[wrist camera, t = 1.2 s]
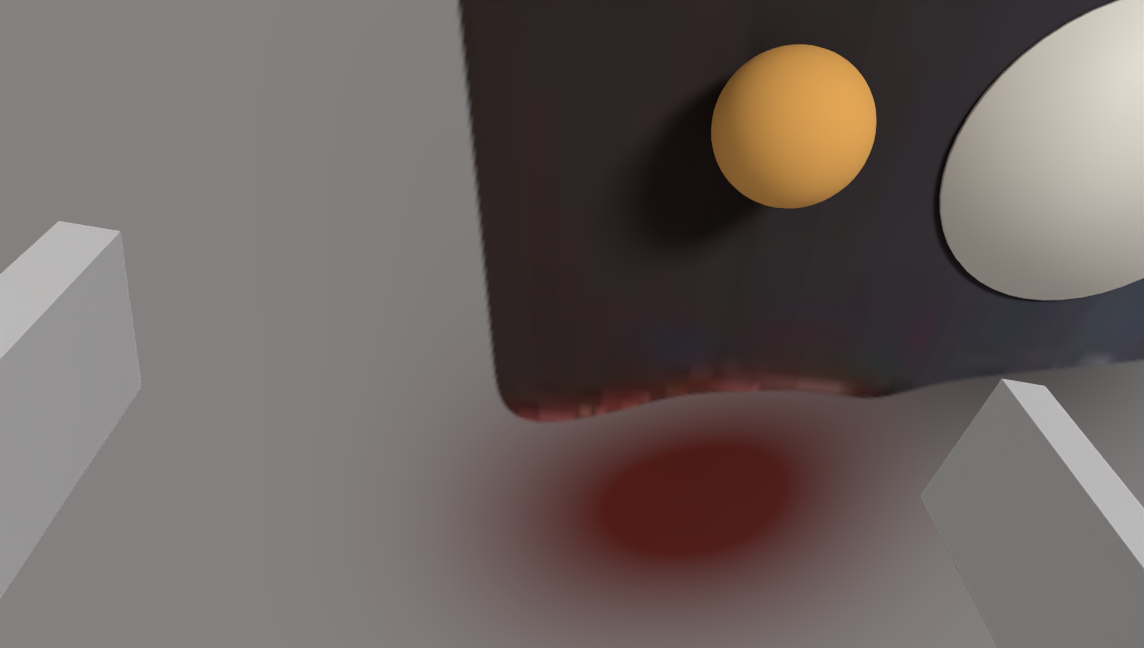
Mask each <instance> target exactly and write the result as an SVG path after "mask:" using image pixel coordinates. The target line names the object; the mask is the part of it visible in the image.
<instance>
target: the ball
mask: <svg viewBox="0 0 1144 648" xmlns="http://www.w3.org/2000/svg"><path fill="white" fill-rule="evenodd" d="M875 132H876V109H875V104H874V100H873V97H872V94H871V91H870V89H869V87H868V85H867V83H866V81H865V79H864V78H863V77H862V75H861V74H860V73H859V72H858V70H857V69H856V68H855V67H854V66H853V65H852V64H851V63H850V62H848V61H847V60H846V59H844V58H843V57H841V56H840V55H838V54H837V53H834V52H832V51H830V50H828V49H824V48H821V47H817V46H812V45H804V44H800V45H787V46H781V47H778V48H774V49H770V50H768V51H766V52H763V53H761V54H759V55H757V56H756V57H754V58H752V59H751V60H749V61H748V62H747V63H745V64H744V65H743V66H742V67H741V68H739V69H738V70H737V71H736V72H735V73H734V75H733V76H732V77H731V78H730V79H729V81H728V82H727V84H726V85H725V87H724V88H723V90H722V92H721V94H720V96H719V98H718V100H717V103H716V105H715V108H714V113H713V117H712V126H711V141H712V146H713V151H714V155H715V158H716V161H717V163H718V165H719V167H720V169H721V171H722V173H723V174H724V176H725V177H726V178H727V180H728V181H729V182H730V183H731V184H732V185H733V186H734V187H735V188H736V189H737V190H738V191H739V192H741V193H742V194H743V195H745V196H746V197H748V198H750V199H752V200H754V201H756V202H758V203H761V204H764V205H767V206H771V207H777V208H799V207H806V206H810V205H813V204H816V203H819V202H822V201H824V200H826V199H828V198H830V197H831V196H833V195H835V194H836V193H838V192H839V191H840V190H842V189H843V188H844V187H846V186H847V185H848V184H849V183H850V182H851V181H852V180H853V179H854V178H855V176H856V175H857V174H858V173H859V171H860V170H861V168H862V167H863V165H864V164H865V162H866V160H867V158H868V156H869V153H870V151H871V148H872V145H873V142H874V138H875Z"/></svg>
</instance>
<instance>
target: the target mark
mask: <svg viewBox="0 0 1144 648" xmlns="http://www.w3.org/2000/svg"><path fill="white" fill-rule="evenodd" d="M939 213H940V219H941V225H942V230H943V233H944V235H945V238H946V241H947V244H948V246H949V247H950V249H951V251H952V253H953V254H954V256H955V258H956V259H957V260H958V261H959V262H960V264H961V265H962V266H963V267H964V268H965V270H966V271H967V272H968V273H970V274H971V275H972V276H973V277H975V278H976V279H977V280H978V281H980V282H981V283H983V284H985V285H987V286H988V287H990V288H992V289H994V290H997V291H1000V292H1002V293H1005V294H1007V295H1011V296H1016V297H1020V298H1025V299H1035V300H1065V299H1073V298H1081V297H1086V296H1091V295H1095V294H1100V293H1103V292H1107V291H1110V290H1113V289H1116V288H1119V287H1122V286H1125V285H1127V284H1130V283H1132V282H1135V281H1137V280H1140V279H1142V278H1144V0H1115V1H1113V2H1110V3H1108V4H1105V5H1103V6H1100V7H1097V8H1095V9H1092V10H1090V11H1088V12H1086V13H1084V14H1082V15H1080V16H1078V17H1077V18H1075V19H1073V20H1071V21H1069V22H1067V23H1065V24H1064V25H1062V26H1060V27H1059V28H1057V29H1056V30H1054V31H1053V32H1051V33H1050V34H1048V35H1046V36H1045V37H1043V38H1042V39H1041V40H1039V41H1038V42H1037V43H1035V44H1034V45H1033V46H1032V47H1030V48H1029V49H1028V50H1026V51H1025V52H1024V53H1023V54H1021V55H1020V56H1019V57H1018V58H1017V59H1016V60H1015V61H1014V62H1013V63H1012V64H1011V65H1010V66H1008V67H1007V68H1006V69H1005V70H1004V71H1003V72H1002V73H1001V74H1000V75H999V76H998V77H997V79H996V80H995V81H994V82H993V83H992V84H991V85H990V87H989V88H988V89H987V90H986V91H985V92H984V93H983V95H982V96H981V98H980V99H979V100H978V102H977V103H976V104H975V106H974V107H973V109H972V110H971V111H970V113H969V114H968V116H967V118H966V120H965V121H964V123H963V125H962V127H961V128H960V130H959V132H958V134H957V136H956V138H955V140H954V143H953V145H952V147H951V150H950V152H949V154H948V157H947V161H946V164H945V167H944V171H943V174H942V180H941V187H940V194H939Z"/></svg>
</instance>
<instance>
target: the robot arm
mask: <svg viewBox="0 0 1144 648" xmlns="http://www.w3.org/2000/svg"><path fill="white" fill-rule="evenodd" d="M141 387H142V385H141V377H140V370H139V363H138V356H137V348H136V341H135V334H134V327H133V319H132V312H131V305H130V297H129V290H128V283H127V275H126V268H125V261H124V253H123V247H122V239H121V232H120V231H115V230H109V229H104V228H98V227H92V226H85V225H79V224H74V223H68V222H62V221H59V222H57V223H56V224H55V225H54V226H53V227H52V228H51V229H50V230H49V231H48V232H46V233H45V234H44V235H43V236H42V237H41V238H40V239H39V240H38V241H36V242H35V243H34V244H33V245H32V246H31V247H30V248H29V249H28V250H27V251H25V252H24V253H23V254H22V255H21V256H20V257H19V258H18V259H17V260H16V261H15V262H13V263H12V264H11V266H9V267H8V268H7V269H6V270H5V271H3V273H2V274H0V598H1V597H2V595H3V593H4V592H5V591H6V589H7V588H8V586H9V585H10V583H11V581H12V580H13V579H14V577H15V576H16V574H17V573H18V571H19V570H20V568H21V566H22V565H23V564H24V562H25V561H26V559H27V558H28V556H29V555H30V553H31V552H32V550H33V549H34V547H35V546H36V544H37V543H38V541H39V540H40V538H41V537H42V535H43V534H44V532H45V531H46V529H47V528H48V526H49V525H50V523H51V522H52V520H53V519H54V517H55V516H56V514H57V513H58V511H59V509H60V508H61V507H62V505H63V504H64V502H65V501H66V499H67V498H68V496H69V495H70V493H71V492H72V490H73V489H74V487H75V486H76V484H77V483H78V481H79V480H80V478H81V477H82V475H83V474H84V472H85V471H86V469H87V468H88V466H89V465H90V463H91V462H92V460H93V459H94V457H95V456H96V454H97V453H98V451H99V450H100V448H101V447H102V445H103V444H104V442H105V441H106V439H107V438H108V436H109V435H110V433H111V432H112V430H113V429H114V427H115V426H116V424H117V423H118V421H119V420H120V418H121V417H122V415H123V414H124V412H125V411H126V409H127V408H128V406H129V405H130V403H131V402H132V400H133V399H134V397H135V396H136V394H137V393H138V391H139V390H140V388H141ZM920 497H921V499H922V501H923V503H924V505H925V507H926V509H927V510H928V513H929V514H930V516H931V518H932V520H933V522H934V524H935V526H936V528H937V530H938V532H939V534H940V536H941V538H942V540H943V542H944V544H945V546H946V547H947V549H948V551H949V553H950V555H951V557H952V559H953V561H954V563H955V565H956V567H957V569H958V571H959V573H960V575H961V577H962V579H963V581H964V583H965V584H966V587H967V589H968V590H969V592H970V594H971V596H972V598H973V600H974V602H975V604H976V606H977V608H978V610H979V612H980V614H981V616H982V617H983V619H984V622H985V624H986V626H987V627H988V629H989V631H990V633H991V635H992V637H993V639H994V641H995V643H996V645H997V647H998V648H1144V508H1143V506H1142V505H1141V504H1140V503H1139V501H1138V500H1137V499H1136V498H1135V497H1134V495H1133V494H1132V493H1131V492H1130V490H1129V489H1128V488H1127V487H1126V486H1125V484H1124V483H1123V482H1122V480H1121V479H1120V478H1119V477H1118V476H1117V474H1116V473H1115V472H1114V471H1113V469H1112V468H1111V467H1110V466H1109V465H1108V463H1107V462H1106V461H1105V459H1104V458H1103V457H1102V456H1101V455H1100V453H1099V452H1098V451H1097V450H1096V448H1095V447H1094V446H1093V445H1092V443H1091V442H1090V441H1089V440H1088V438H1087V437H1086V436H1085V435H1084V434H1083V432H1082V431H1081V430H1080V429H1079V427H1078V426H1077V425H1076V424H1075V422H1074V421H1073V420H1072V419H1071V418H1070V416H1069V415H1068V414H1067V413H1066V411H1065V410H1064V409H1063V408H1062V406H1061V405H1060V404H1059V403H1058V401H1057V400H1056V399H1055V398H1054V397H1053V395H1052V394H1051V393H1050V392H1049V390H1048V389H1047V388H1046V387H1045V386H1042V385H1036V384H1030V383H1024V382H1018V381H1012V380H1006V379H1001V381H1000V382H999V384H998V385H997V387H996V388H995V389H994V391H993V392H992V394H991V395H990V397H989V398H988V399H987V401H986V402H985V404H984V405H983V407H982V408H981V409H980V411H979V412H978V414H977V415H976V417H975V418H974V419H973V421H972V422H971V424H970V425H969V427H968V428H967V429H966V431H965V432H964V434H963V435H962V437H961V438H960V439H959V441H958V442H957V444H956V445H955V447H954V448H953V449H952V451H951V452H950V454H949V455H948V457H947V458H946V459H945V461H944V462H943V464H942V465H941V467H940V468H939V469H938V471H937V472H936V474H935V475H934V477H933V478H932V480H931V481H930V482H929V484H928V485H927V487H926V488H925V489H924V491H923V493H922V494H921V495H920Z"/></svg>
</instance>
